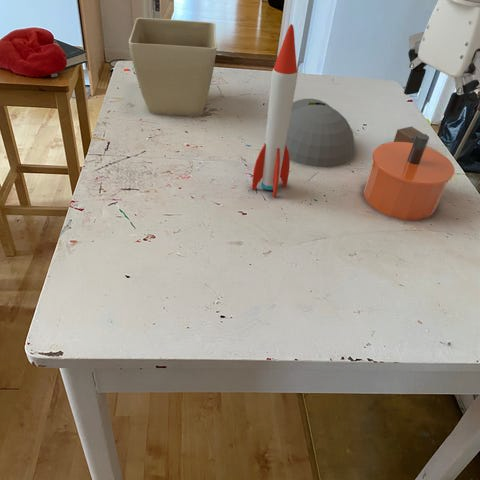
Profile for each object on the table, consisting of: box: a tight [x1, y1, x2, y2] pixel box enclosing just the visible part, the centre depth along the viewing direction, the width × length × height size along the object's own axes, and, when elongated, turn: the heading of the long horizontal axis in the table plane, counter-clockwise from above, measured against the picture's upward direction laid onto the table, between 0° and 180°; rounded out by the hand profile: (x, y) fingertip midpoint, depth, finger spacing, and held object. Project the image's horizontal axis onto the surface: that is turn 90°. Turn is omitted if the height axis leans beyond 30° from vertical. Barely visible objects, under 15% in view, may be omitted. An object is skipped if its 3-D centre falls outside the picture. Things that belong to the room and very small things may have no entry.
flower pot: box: [128, 17, 218, 117], centre depth 114 cm, size 19×19×17 cm
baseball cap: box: [286, 98, 355, 168], centre depth 109 cm, size 19×26×12 cm
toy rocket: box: [251, 23, 298, 199], centre depth 86 cm, size 6×6×30 cm
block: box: [393, 126, 424, 143], centre depth 111 cm, size 5×5×5 cm
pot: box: [363, 160, 449, 221], centre depth 94 cm, size 15×15×8 cm
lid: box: [372, 132, 455, 185], centre depth 89 cm, size 16×16×6 cm
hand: (430, 104), depth 83 cm, fingers open, 9 cm apart
